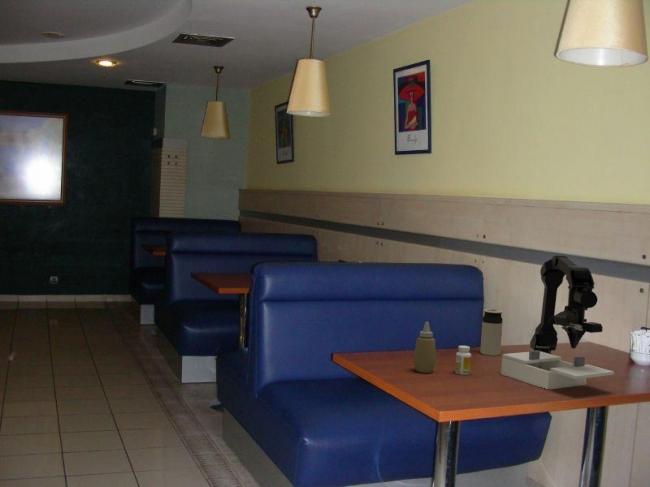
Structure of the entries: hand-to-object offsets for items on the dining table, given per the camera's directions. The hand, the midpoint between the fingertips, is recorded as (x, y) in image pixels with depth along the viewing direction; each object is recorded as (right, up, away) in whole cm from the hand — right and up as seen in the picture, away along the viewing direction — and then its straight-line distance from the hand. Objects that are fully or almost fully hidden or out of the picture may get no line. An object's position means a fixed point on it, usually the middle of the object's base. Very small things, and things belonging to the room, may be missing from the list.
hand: (573, 348), depth 255 cm
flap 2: (0, -7, -7) cm, 10 cm away
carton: (-8, -12, +7) cm, 17 cm away
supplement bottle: (-36, -11, +11) cm, 39 cm away
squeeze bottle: (-50, -10, +10) cm, 52 cm away
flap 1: (-11, -5, +12) cm, 17 cm away
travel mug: (-18, -9, +47) cm, 51 cm away
